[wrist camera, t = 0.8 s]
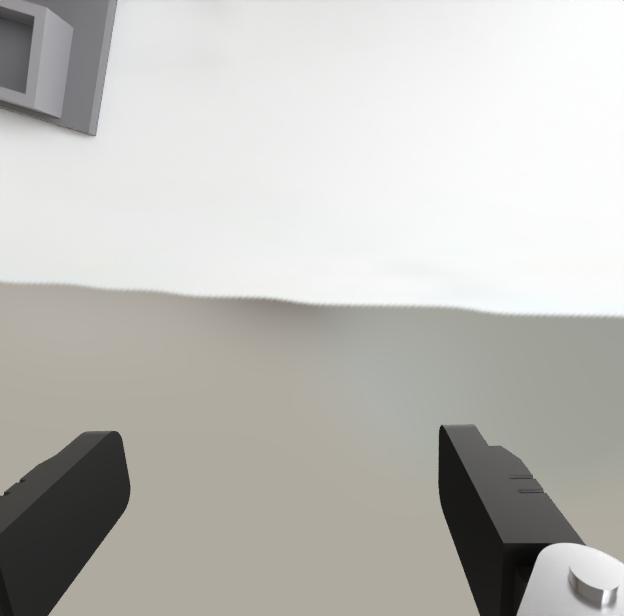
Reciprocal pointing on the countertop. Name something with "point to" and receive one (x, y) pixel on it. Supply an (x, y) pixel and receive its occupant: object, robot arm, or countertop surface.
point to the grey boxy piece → (55, 59)
